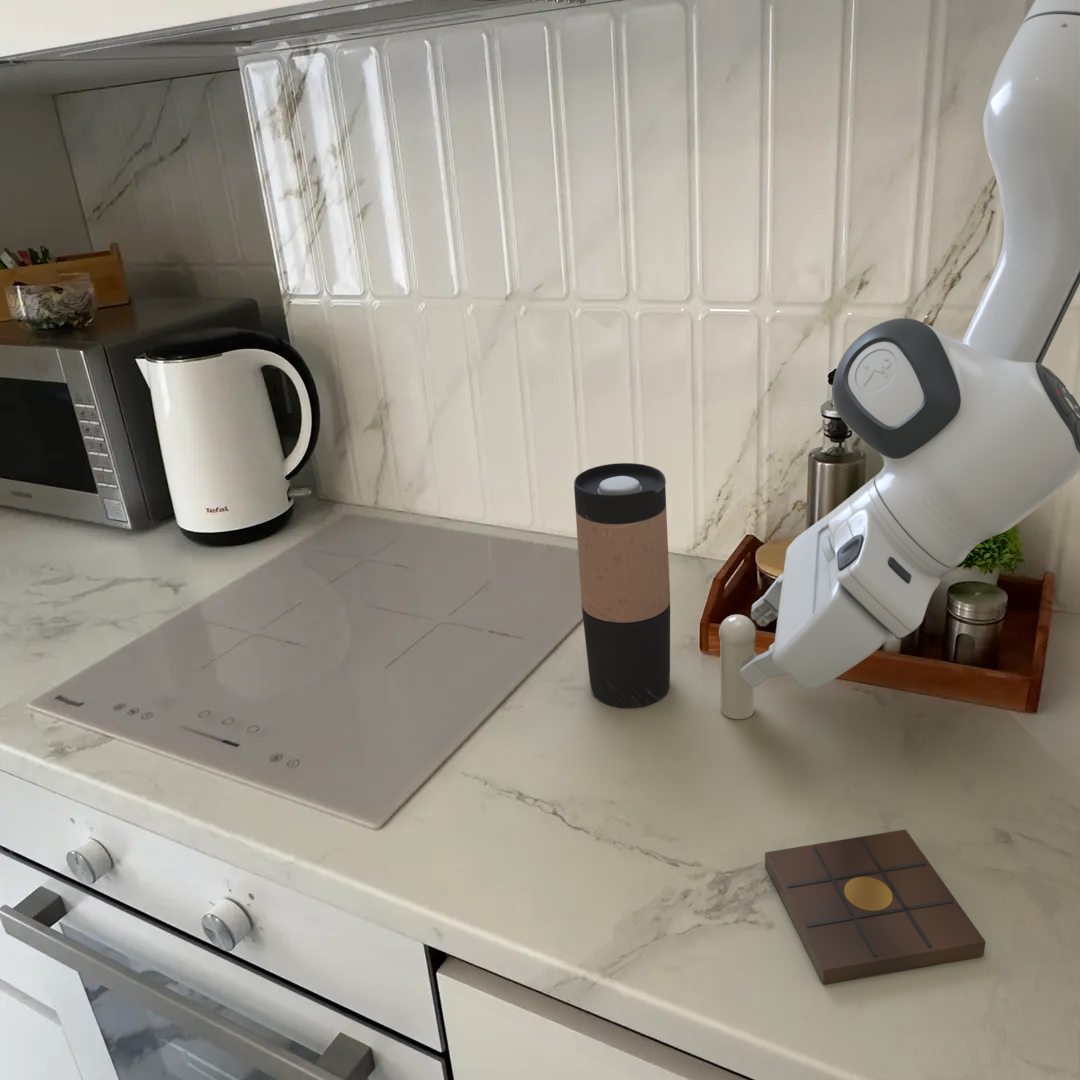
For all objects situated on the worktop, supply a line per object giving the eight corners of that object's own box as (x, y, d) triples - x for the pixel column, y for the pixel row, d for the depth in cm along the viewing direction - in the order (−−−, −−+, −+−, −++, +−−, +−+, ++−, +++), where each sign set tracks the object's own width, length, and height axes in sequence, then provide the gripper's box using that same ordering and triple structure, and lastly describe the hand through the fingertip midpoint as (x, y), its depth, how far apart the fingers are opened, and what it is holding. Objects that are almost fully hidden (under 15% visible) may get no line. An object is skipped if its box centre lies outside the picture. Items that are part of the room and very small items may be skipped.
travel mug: (576, 674, 90) (560, 472, 82) (652, 656, 92) (644, 456, 84) (605, 718, 84) (591, 502, 75) (687, 697, 85) (681, 484, 77)
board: (904, 842, 67) (905, 828, 67) (983, 956, 58) (986, 940, 58) (764, 865, 66) (764, 851, 66) (823, 985, 57) (823, 969, 57)
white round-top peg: (748, 697, 85) (749, 605, 81) (760, 717, 82) (761, 622, 78) (715, 702, 84) (714, 610, 81) (725, 722, 82) (725, 628, 78)
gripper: (854, 466, 83) (736, 564, 89) (855, 577, 65) (708, 688, 72) (906, 517, 83) (785, 610, 90) (921, 640, 65) (769, 743, 72)
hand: (751, 645), depth 81 cm, fingers open, 8 cm apart
